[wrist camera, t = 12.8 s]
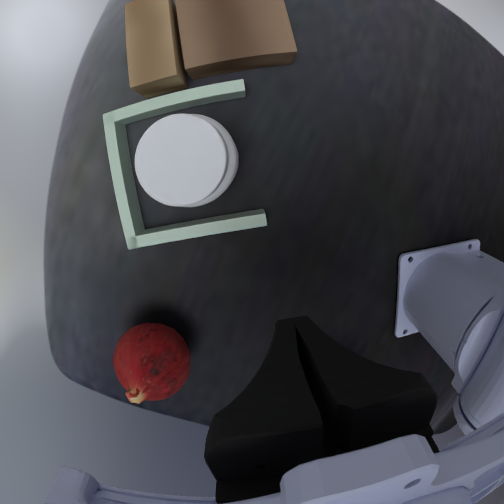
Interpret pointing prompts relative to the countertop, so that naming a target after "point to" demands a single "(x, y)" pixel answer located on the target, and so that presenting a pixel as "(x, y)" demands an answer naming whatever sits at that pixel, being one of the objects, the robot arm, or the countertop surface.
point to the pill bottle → (186, 160)
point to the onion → (151, 362)
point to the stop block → (154, 48)
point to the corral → (125, 177)
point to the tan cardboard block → (233, 35)
